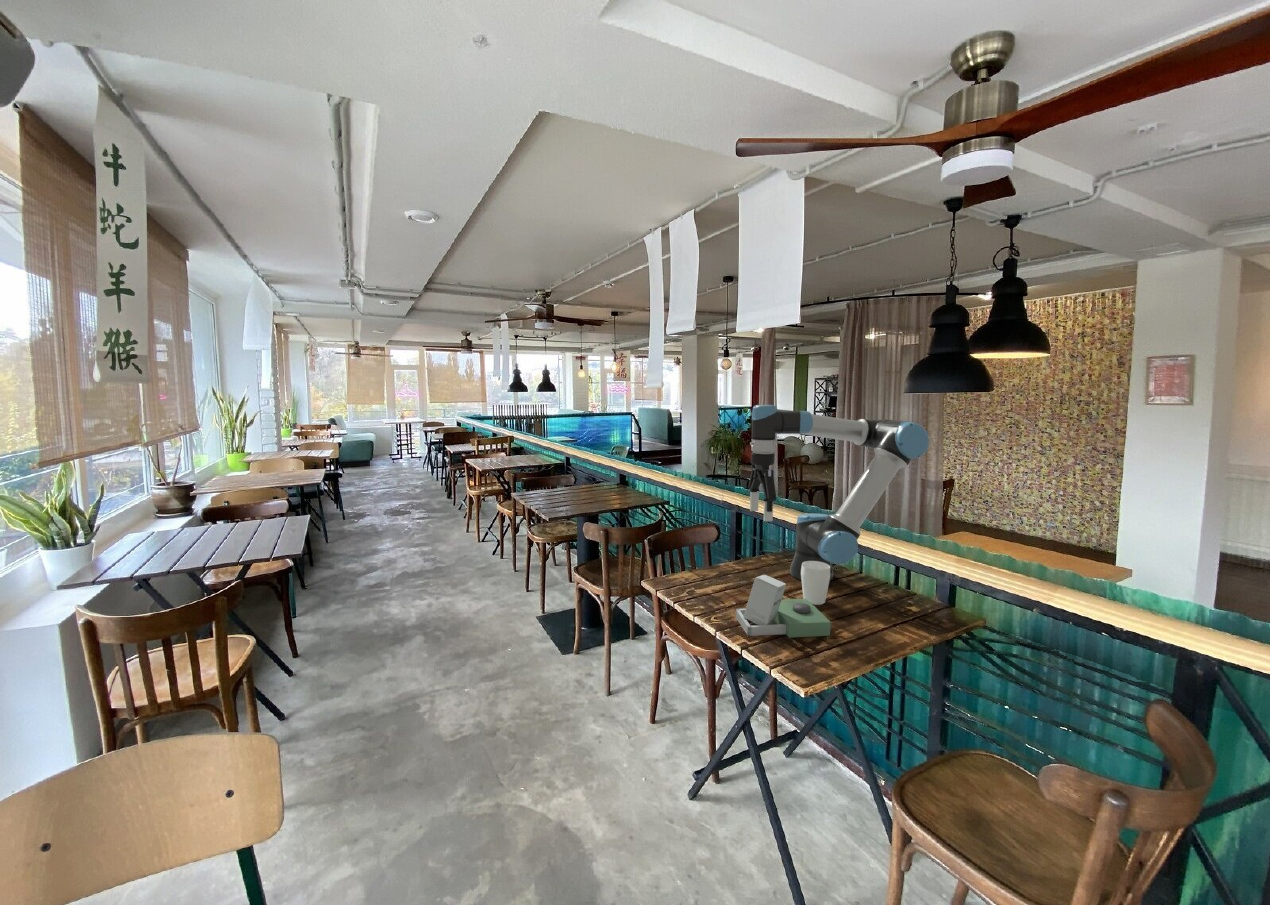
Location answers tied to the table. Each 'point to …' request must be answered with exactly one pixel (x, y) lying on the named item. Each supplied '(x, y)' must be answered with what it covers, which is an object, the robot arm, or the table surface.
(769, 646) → the table surface
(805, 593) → the cup
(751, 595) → the supplement box
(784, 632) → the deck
